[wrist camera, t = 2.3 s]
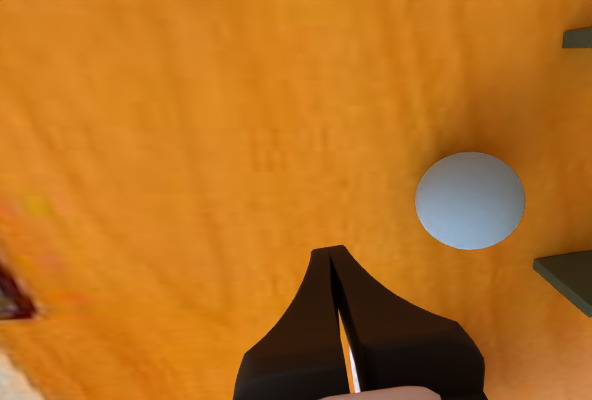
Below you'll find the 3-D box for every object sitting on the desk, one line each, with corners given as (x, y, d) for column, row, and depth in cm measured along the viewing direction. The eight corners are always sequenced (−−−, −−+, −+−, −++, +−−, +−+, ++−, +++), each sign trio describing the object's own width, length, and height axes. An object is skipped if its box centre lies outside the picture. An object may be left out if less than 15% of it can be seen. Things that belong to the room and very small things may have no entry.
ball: (486, 214, 21) (544, 260, 16) (404, 227, 21) (437, 276, 16) (491, 134, 19) (558, 160, 14) (400, 149, 19) (437, 180, 14)
